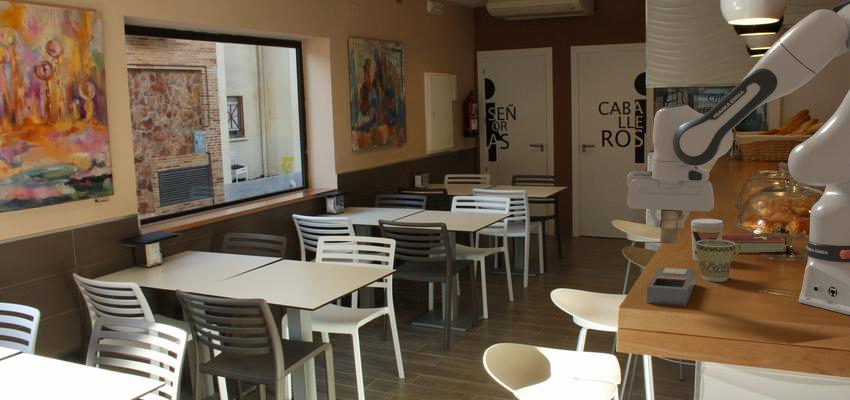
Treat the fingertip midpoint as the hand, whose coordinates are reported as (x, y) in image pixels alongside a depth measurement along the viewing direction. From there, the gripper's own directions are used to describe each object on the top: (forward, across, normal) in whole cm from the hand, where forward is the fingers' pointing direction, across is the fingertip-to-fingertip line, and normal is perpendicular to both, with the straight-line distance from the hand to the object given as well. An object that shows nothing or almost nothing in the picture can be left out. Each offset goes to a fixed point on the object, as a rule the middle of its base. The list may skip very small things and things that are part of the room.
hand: (669, 227), depth 188 cm
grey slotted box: (+18, 0, +5) cm, 19 cm away
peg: (+4, 0, 0) cm, 4 cm away
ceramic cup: (+18, +11, +25) cm, 33 cm away
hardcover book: (+19, +18, +69) cm, 74 cm away
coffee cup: (+19, +6, +49) cm, 52 cm away
